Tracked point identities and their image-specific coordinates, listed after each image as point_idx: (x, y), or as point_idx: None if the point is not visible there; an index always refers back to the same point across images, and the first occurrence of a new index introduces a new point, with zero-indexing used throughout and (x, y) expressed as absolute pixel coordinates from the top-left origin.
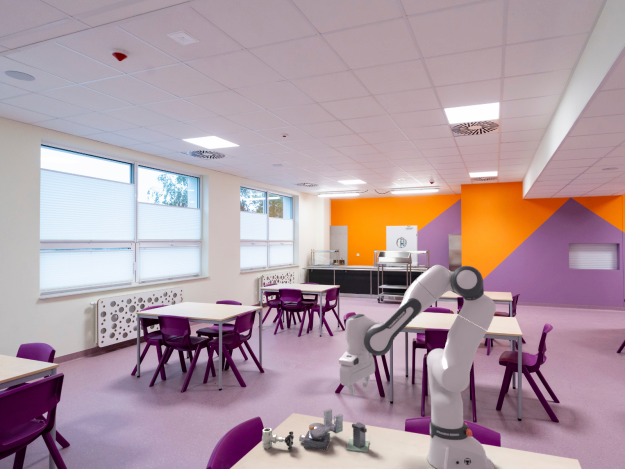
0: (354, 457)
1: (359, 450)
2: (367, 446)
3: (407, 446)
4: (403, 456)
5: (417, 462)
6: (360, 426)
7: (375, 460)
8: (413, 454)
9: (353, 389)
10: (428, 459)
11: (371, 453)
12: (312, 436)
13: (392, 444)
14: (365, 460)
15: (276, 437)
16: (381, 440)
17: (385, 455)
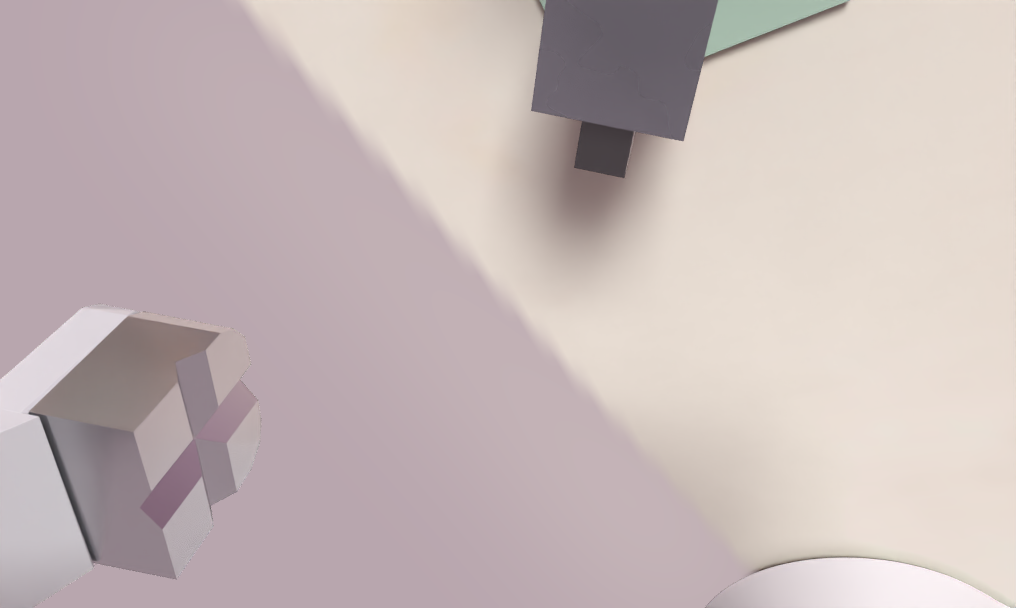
0: (404, 23)
1: None
2: None
3: (972, 391)
4: (741, 404)
5: (710, 506)
6: (580, 98)
7: (506, 227)
8: (830, 462)
9: (31, 589)
10: (767, 582)
11: None
12: None
13: (941, 256)
14: (438, 148)
15: None
16: (988, 112)
17: (656, 272)
